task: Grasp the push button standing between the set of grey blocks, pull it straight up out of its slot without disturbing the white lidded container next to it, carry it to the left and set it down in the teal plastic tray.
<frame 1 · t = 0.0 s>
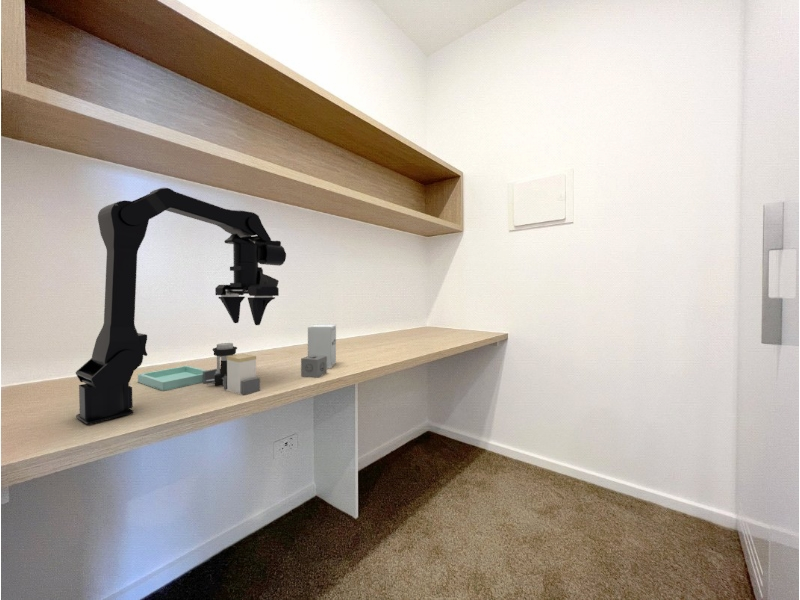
hand: (246, 324, 84), 15 cm above the table, tool pointing down, fingers open, 9 cm apart
tray: (176, 380, 84), on the table
white lidded container: (241, 390, 77), on the table
push button: (222, 385, 81), on the table
dark grey cube: (314, 375, 91), on the table
supplement box: (322, 366, 102), on the table
set of grey blocks: (222, 384, 81), on the table
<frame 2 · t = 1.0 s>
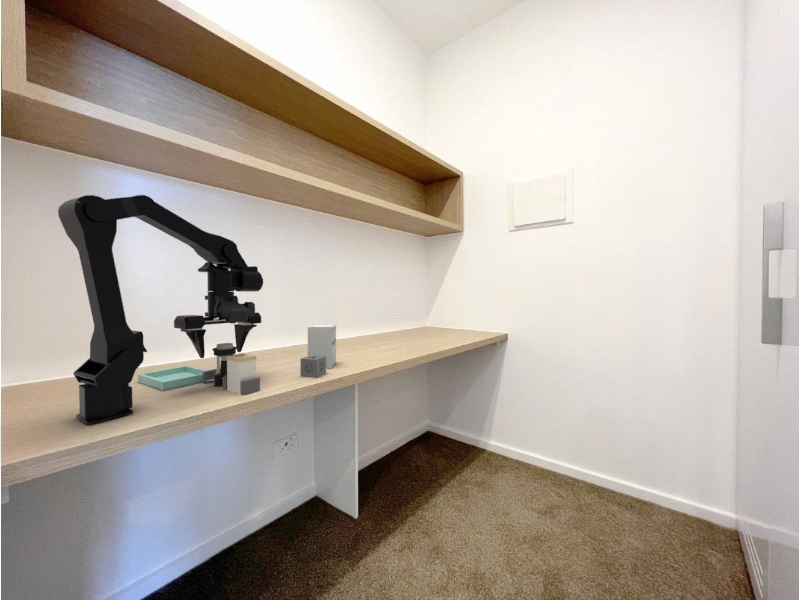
hand: (221, 354, 81), 7 cm above the table, tool pointing down, fingers open, 9 cm apart
nothing on the table moved.
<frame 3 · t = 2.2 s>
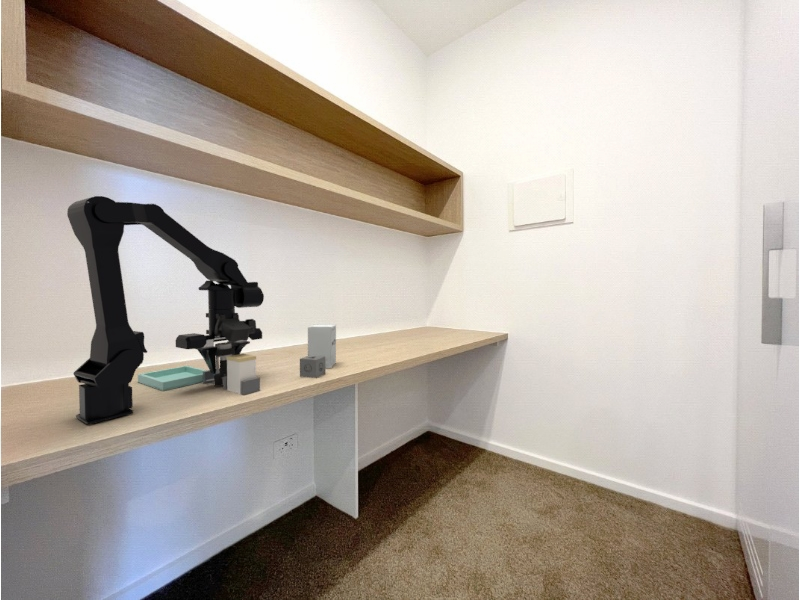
hand: (223, 371, 81), 3 cm above the table, tool pointing down, fingers closed on push button, 4 cm apart
push button: (222, 384, 81), on the table, touching gripper
everything else where it was.
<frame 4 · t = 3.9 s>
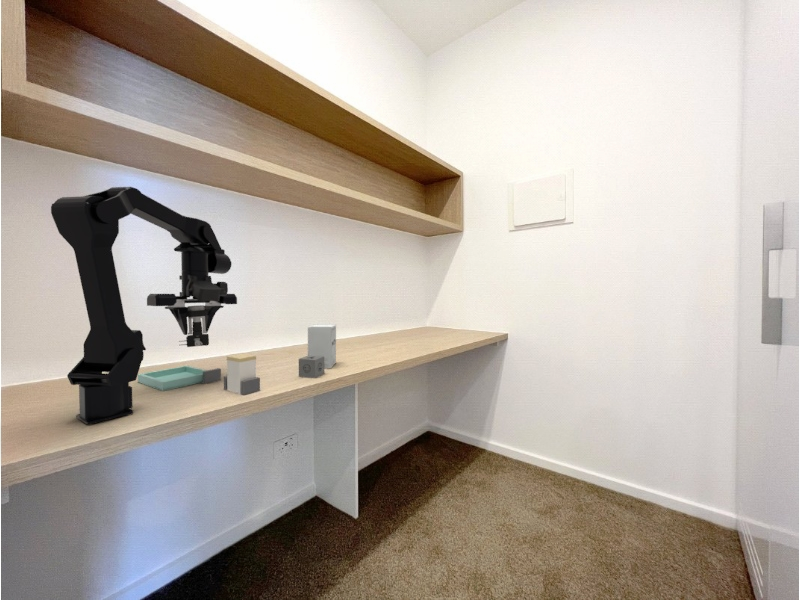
hand: (195, 333, 83), 12 cm above the table, tool pointing down, fingers closed on push button, 4 cm apart
push button: (195, 346, 82), point 9 cm above the table, touching gripper
everything else where it was.
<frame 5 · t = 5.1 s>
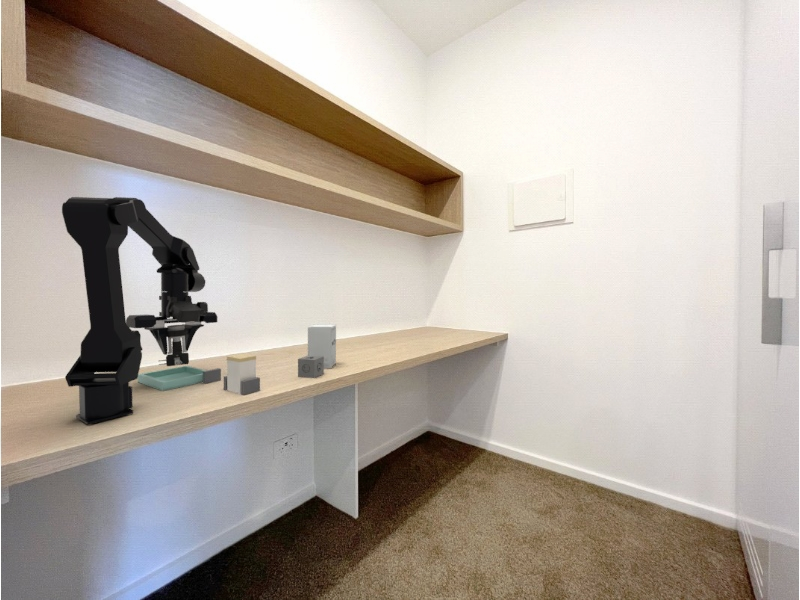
hand: (175, 353, 84), 7 cm above the table, tool pointing down, fingers closed on push button, 4 cm apart
push button: (175, 365, 84), point 4 cm above the table, touching gripper
everything else where it was.
when the fingers open (4 cm above the table, at t = 5.9 s): push button stays where it is, resting on tray.
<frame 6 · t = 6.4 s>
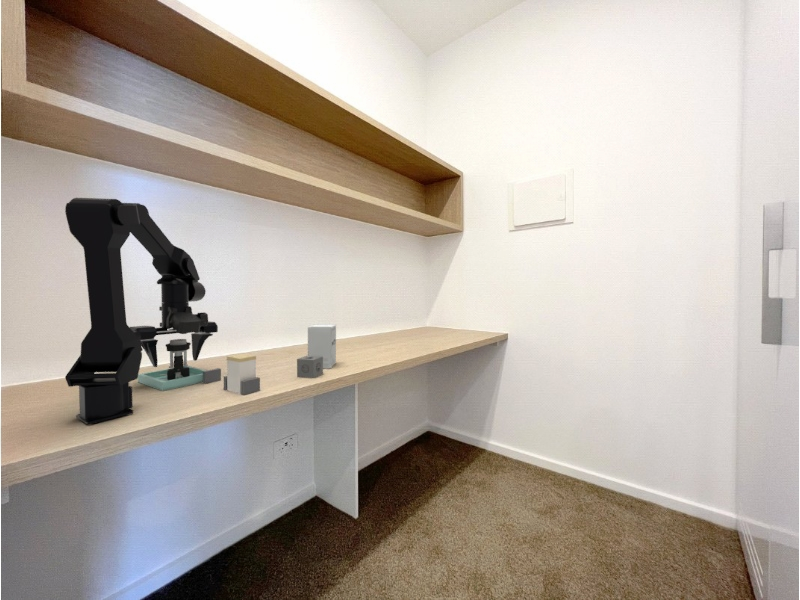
hand: (176, 363, 84), 4 cm above the table, tool pointing down, fingers open, 9 cm apart
push button: (175, 379, 84), resting on tray
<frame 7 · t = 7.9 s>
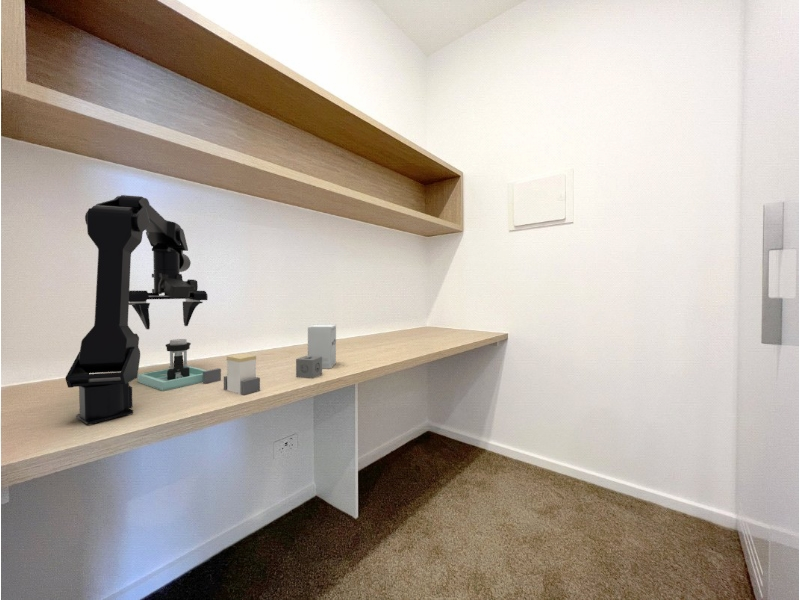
hand: (167, 327, 89), 13 cm above the table, tool pointing down, fingers open, 9 cm apart
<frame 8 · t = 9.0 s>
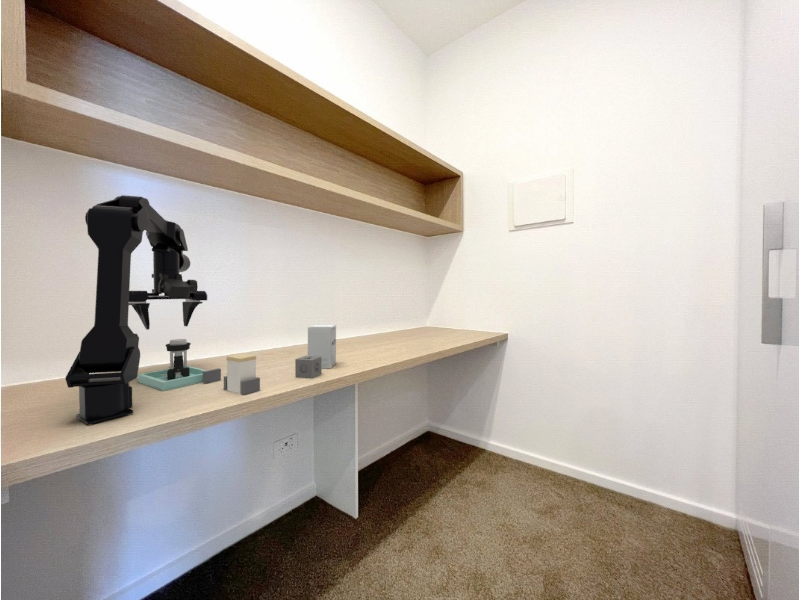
hand: (167, 327, 89), 13 cm above the table, tool pointing down, fingers open, 9 cm apart
at the end: push button inside the target area on the tray (0.2 cm from its centre), point 0.3 cm above the tray's base; the gripper is holding nothing; white lidded container moved 0.1 cm from its start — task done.
